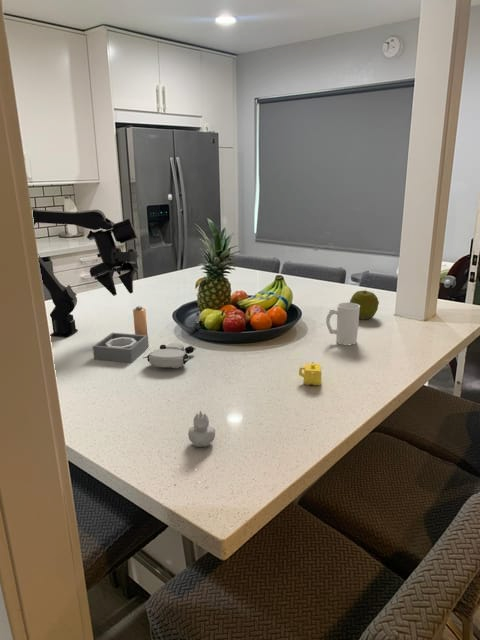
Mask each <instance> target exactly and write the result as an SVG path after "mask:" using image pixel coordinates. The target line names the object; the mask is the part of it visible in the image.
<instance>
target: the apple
mask: <svg viewBox="0 0 480 640" xmlns="http://www.w3.org/2000/svg"><path fill="white" fill-rule="evenodd" d="M349 303H355V304H358V305H360V311H359V318H360V319H361V320H368V319H370V318H373V317H374V316H375V315H376V313H377V311H378V307H379V304H380V301H379V298H378V297H377V295H375V293H374V292H372V291H368V290H357V291H356V292H355V293H354V294H353V295H352V296H351V298H350V299H349ZM360 319H359V320H360Z"/></svg>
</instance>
